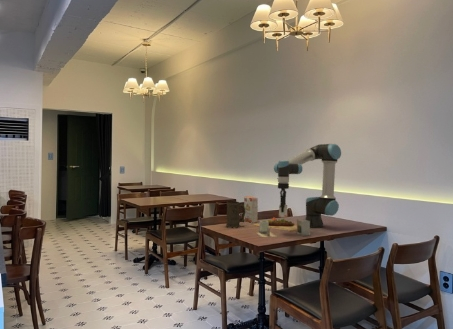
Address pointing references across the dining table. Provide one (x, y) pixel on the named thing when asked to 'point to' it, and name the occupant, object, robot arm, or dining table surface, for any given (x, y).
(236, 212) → the beer stein
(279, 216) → the sleeve
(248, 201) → the cracker box
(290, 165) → the robot arm
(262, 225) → the seated sleeve
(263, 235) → the pin board
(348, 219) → the dining table surface
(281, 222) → the cutting board
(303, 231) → the feeder chute
